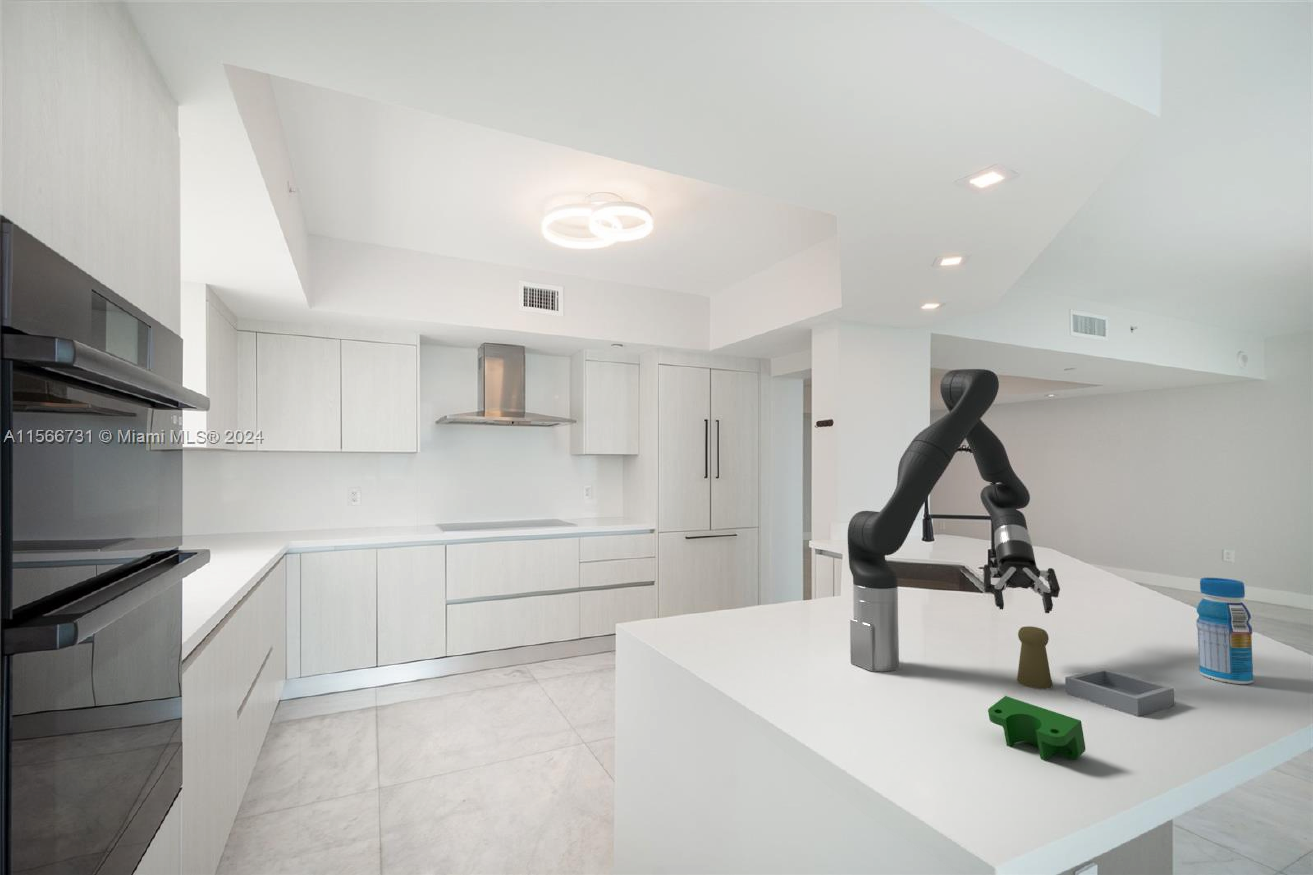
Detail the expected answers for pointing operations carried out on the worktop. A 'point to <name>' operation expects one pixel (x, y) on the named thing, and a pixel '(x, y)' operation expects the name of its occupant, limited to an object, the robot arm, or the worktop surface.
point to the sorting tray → (1120, 691)
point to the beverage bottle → (1224, 632)
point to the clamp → (1038, 728)
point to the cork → (1034, 658)
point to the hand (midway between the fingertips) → (1024, 609)
